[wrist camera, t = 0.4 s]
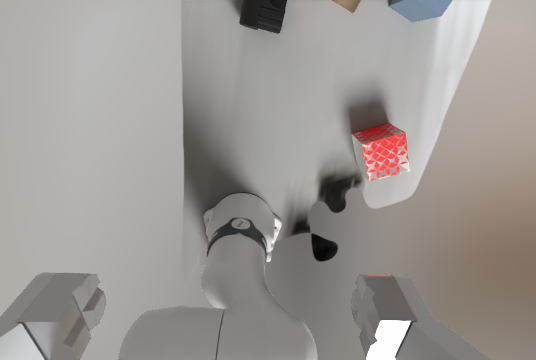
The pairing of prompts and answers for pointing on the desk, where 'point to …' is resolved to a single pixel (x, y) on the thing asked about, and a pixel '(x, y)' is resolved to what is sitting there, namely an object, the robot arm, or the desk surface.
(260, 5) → the end cap
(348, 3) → the base block
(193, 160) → the desk surface
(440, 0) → the tall pale blue prism
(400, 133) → the red and white cube
